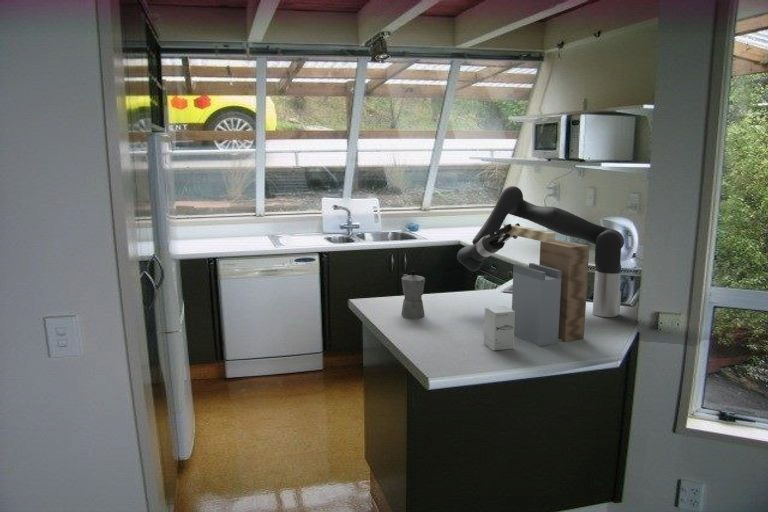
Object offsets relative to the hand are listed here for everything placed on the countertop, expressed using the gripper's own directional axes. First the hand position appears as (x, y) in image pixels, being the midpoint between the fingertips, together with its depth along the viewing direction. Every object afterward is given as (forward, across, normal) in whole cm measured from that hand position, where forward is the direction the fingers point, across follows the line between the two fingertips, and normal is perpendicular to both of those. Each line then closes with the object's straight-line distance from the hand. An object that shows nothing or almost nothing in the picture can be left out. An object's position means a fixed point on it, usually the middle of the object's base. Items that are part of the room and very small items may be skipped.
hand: (514, 226), depth 194 cm
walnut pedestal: (-7, +11, +39) cm, 41 cm away
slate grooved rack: (-7, 0, +39) cm, 39 cm away
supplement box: (-5, -16, +40) cm, 43 cm away
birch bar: (+5, 0, +6) cm, 8 cm away
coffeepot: (-44, -26, +18) cm, 54 cm away
